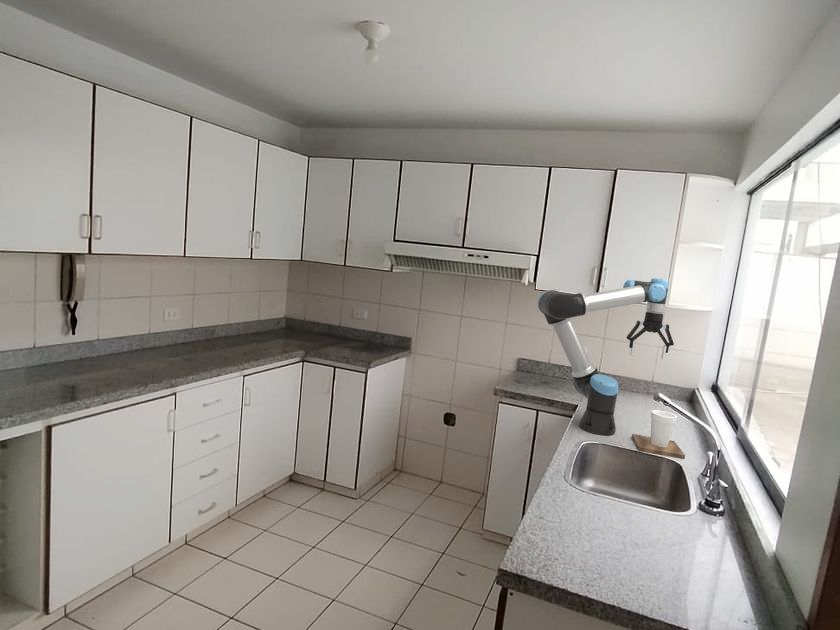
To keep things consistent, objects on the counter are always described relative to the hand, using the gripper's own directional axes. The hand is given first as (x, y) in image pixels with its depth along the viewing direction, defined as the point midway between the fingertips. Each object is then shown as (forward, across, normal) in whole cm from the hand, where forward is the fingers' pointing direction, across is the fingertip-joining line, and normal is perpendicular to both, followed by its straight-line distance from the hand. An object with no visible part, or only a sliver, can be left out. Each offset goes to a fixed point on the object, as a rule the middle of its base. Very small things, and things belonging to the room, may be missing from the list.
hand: (646, 357), depth 238 cm
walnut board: (+32, -2, +31) cm, 44 cm away
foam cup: (+30, -3, +31) cm, 43 cm away
